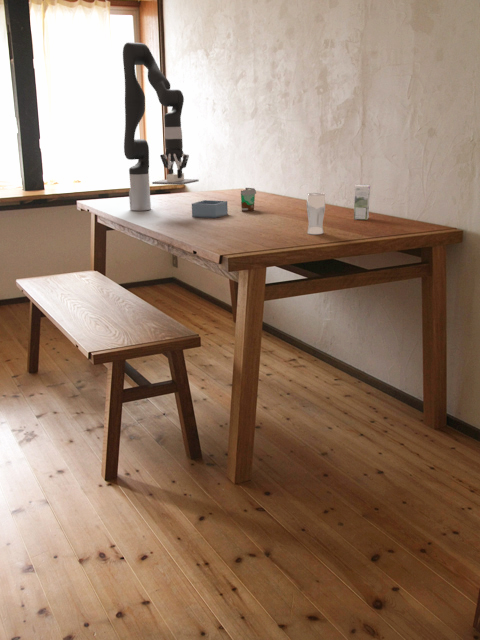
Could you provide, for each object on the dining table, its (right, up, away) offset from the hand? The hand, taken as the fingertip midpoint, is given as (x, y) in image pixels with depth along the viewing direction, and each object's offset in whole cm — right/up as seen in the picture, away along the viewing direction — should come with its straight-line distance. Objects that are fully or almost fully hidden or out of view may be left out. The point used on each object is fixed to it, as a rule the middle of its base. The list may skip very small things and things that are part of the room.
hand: (175, 177), depth 285 cm
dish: (+15, -16, +6) cm, 23 cm away
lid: (0, -2, +1) cm, 2 cm away
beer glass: (+58, -31, -40) cm, 76 cm away
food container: (+33, -12, +19) cm, 40 cm away
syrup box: (+81, -20, -10) cm, 84 cm away
